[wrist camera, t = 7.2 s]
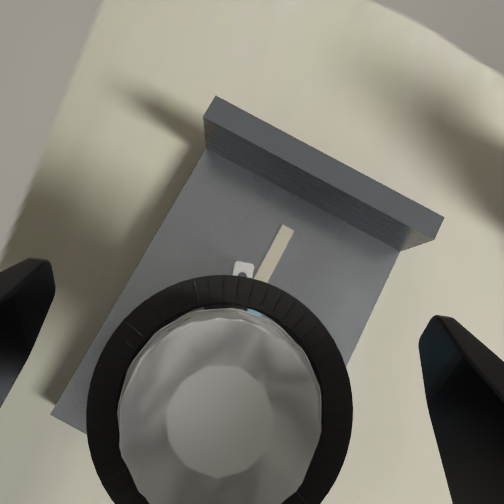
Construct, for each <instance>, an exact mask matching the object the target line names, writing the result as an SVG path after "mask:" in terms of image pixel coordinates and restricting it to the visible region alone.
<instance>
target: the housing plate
mask: <svg viewBox="0 0 504 504" xmlns="http://www.w3.org/2000/svg"><path fill="white" fill-rule="evenodd" d="M203 120H204V130H205V140H206V149H205V151H204V153H203V155H202V156H201V158H200V160H199V161H198V163H197V165H196V167H195V168H194V170H193V172H192V173H191V175H190V177H189V179H188V180H187V182H186V184H185V185H184V187H183V189H182V190H181V192H180V194H179V196H178V197H177V199H176V201H175V202H174V204H173V206H172V208H171V209H170V211H169V213H168V214H167V216H166V218H165V219H164V221H163V223H162V225H161V226H160V228H159V230H158V231H157V233H156V235H155V237H154V238H153V240H152V242H151V243H150V245H149V247H148V248H147V250H146V252H145V254H144V255H143V257H142V259H141V260H140V262H139V264H138V266H137V267H136V269H135V271H134V272H133V274H132V276H131V277H130V279H129V281H128V283H127V284H126V286H125V288H124V289H123V291H122V293H121V295H120V296H119V298H118V300H117V301H116V303H115V305H114V306H113V308H112V310H111V312H110V313H109V315H108V317H107V318H106V320H105V322H104V324H103V325H102V327H101V329H100V330H99V332H98V334H97V335H96V337H95V339H94V341H93V342H92V344H91V346H90V347H89V349H88V351H87V353H86V354H85V356H84V358H83V359H82V361H81V363H80V364H79V366H78V368H77V370H76V371H75V373H74V375H73V376H72V378H71V380H70V382H69V383H68V385H67V387H66V388H65V390H64V392H63V394H62V395H61V397H60V399H59V400H58V402H57V404H56V405H55V407H54V409H53V411H52V412H51V414H50V415H52V416H54V417H56V418H57V419H59V420H61V421H63V422H65V423H67V424H69V425H70V426H72V427H74V428H76V429H78V430H80V431H82V432H83V433H85V434H87V430H86V408H87V397H88V392H89V386H90V382H91V379H92V375H93V372H94V369H95V366H96V364H97V361H98V359H99V356H100V354H101V352H102V350H103V349H104V347H105V345H106V343H107V341H108V340H109V338H110V337H111V335H112V334H113V332H114V331H115V330H116V328H117V327H118V326H119V325H120V323H121V322H122V321H123V320H124V319H125V318H126V317H127V316H128V315H129V314H130V313H131V312H132V311H133V310H134V309H135V308H136V307H137V306H139V305H140V304H141V303H142V302H144V301H145V300H146V299H148V298H149V297H151V296H153V295H154V294H156V293H157V292H159V291H161V290H163V289H165V288H167V287H169V286H171V285H174V284H176V283H179V282H182V281H185V280H189V279H192V278H197V277H203V276H209V275H233V270H234V266H235V262H237V261H240V262H245V263H250V264H253V265H254V271H253V276H252V279H256V280H260V281H263V282H266V283H268V284H271V285H273V286H276V287H278V288H279V289H281V290H283V291H285V292H287V293H289V294H290V295H292V296H293V297H295V298H296V299H298V300H299V301H300V302H301V303H303V304H304V305H305V306H306V307H308V308H309V309H310V310H311V311H312V312H313V313H314V314H315V315H316V316H317V317H318V319H319V320H320V321H321V322H322V324H323V325H324V326H325V327H326V329H327V330H328V332H329V333H330V335H331V336H332V338H333V339H334V341H335V343H336V345H337V347H338V349H339V351H340V353H341V355H342V358H343V361H344V363H345V366H347V364H348V362H349V360H350V358H351V355H352V353H353V351H354V349H355V347H356V345H357V343H358V340H359V338H360V336H361V334H362V332H363V330H364V328H365V325H366V323H367V321H368V319H369V317H370V315H371V313H372V310H373V308H374V306H375V304H376V302H377V300H378V298H379V295H380V293H381V291H382V289H383V287H384V285H385V283H386V281H387V278H388V276H389V274H390V272H391V270H392V268H393V266H394V263H395V261H396V259H397V257H398V255H399V253H400V251H403V250H406V249H409V248H412V247H415V246H418V245H420V244H423V243H426V242H429V241H432V240H434V239H435V237H436V235H437V233H438V230H439V228H440V226H441V224H442V222H443V219H444V217H443V216H441V215H439V214H437V213H435V212H433V211H432V210H430V209H428V208H426V207H424V206H422V205H420V204H418V203H417V202H415V201H413V200H411V199H409V198H407V197H405V196H403V195H401V194H400V193H398V192H396V191H394V190H392V189H390V188H388V187H386V186H385V185H383V184H381V183H379V182H377V181H375V180H373V179H371V178H370V177H368V176H366V175H364V174H362V173H360V172H358V171H356V170H355V169H353V168H351V167H349V166H347V165H345V164H343V163H341V162H340V161H338V160H336V159H334V158H332V157H330V156H328V155H326V154H324V153H323V152H321V151H319V150H317V149H315V148H313V147H311V146H309V145H308V144H306V143H304V142H302V141H300V140H298V139H296V138H294V137H293V136H291V135H289V134H287V133H285V132H283V131H281V130H279V129H278V128H276V127H274V126H272V125H270V124H268V123H266V122H264V121H263V120H261V119H259V118H257V117H255V116H253V115H251V114H249V113H247V112H246V111H244V110H242V109H240V108H238V107H236V106H234V105H232V104H231V103H229V102H227V101H225V100H223V99H221V98H219V97H217V96H215V98H214V99H213V101H212V103H211V104H210V106H209V108H208V109H207V111H206V113H205V114H204V116H203ZM238 276H242V277H247V275H246V274H245V273H244V272H240V273H239V274H238ZM199 310H204V307H203V308H200V309H196V310H193V311H191V312H195V311H199ZM191 312H189V313H191ZM189 313H187V314H189ZM187 314H184V315H183V316H181V317H179V318H178V319H180V318H182V317H184V316H185V315H187ZM261 317H263V318H266V319H268V320H271V321H273V320H272V319H270V318H268V317H267V316H265V315H263V314H261ZM178 319H176V320H178ZM176 320H175V321H176ZM173 322H174V321H173ZM273 322H274V321H273ZM274 323H275V324H277V323H276V322H274ZM277 325H278V324H277ZM278 326H279V325H278ZM280 327H281V326H280ZM281 328H282V327H281ZM282 329H283V328H282ZM283 330H284V329H283ZM284 331H285V330H284Z"/></svg>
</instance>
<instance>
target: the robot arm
mask: <svg viewBox="0 0 504 504" xmlns="http://www.w3.org/2000/svg"><path fill="white" fill-rule="evenodd" d="M54 295H55V282H54V277H53V272H52V266H51V263H50V262H49V261H48V260H45V259H38V258H28V259H26V260H24V261H22V262H20V263H18V264H16V265H14V266H12V267H9V268H7V269H5V270H3V271H1V272H0V407H1V405H2V404H3V402H4V400H5V398H6V397H7V395H8V393H9V391H10V389H11V388H12V386H13V384H14V382H15V381H16V379H17V377H18V375H19V373H20V372H21V370H22V368H23V366H24V364H25V363H26V361H27V359H28V357H29V355H30V353H31V351H32V348H33V346H34V344H35V341H36V339H37V337H38V334H39V332H40V329H41V327H42V325H43V322H44V320H45V317H46V315H47V313H48V310H49V308H50V305H51V303H52V301H53V298H54ZM419 353H420V360H421V367H422V373H423V380H424V387H425V394H426V400H427V406H428V410H429V414H430V418H431V422H432V426H433V430H434V433H435V437H436V441H437V445H438V449H439V453H440V456H441V460H442V464H443V468H444V472H445V476H446V479H447V483H448V487H449V491H450V495H451V498H452V502H453V504H504V362H503V361H502V360H501V359H500V358H499V357H498V356H497V355H495V354H494V353H493V352H492V351H491V350H490V349H488V348H487V347H486V346H485V345H484V344H483V343H482V342H480V341H479V340H478V339H477V338H476V337H475V336H473V335H472V334H471V333H470V332H469V331H468V330H467V329H465V328H464V327H463V326H462V325H461V324H460V323H458V322H457V321H456V320H455V319H454V318H452V317H447V316H440V315H435V316H433V317H432V318H431V320H430V321H429V323H428V325H427V327H426V328H425V330H424V332H423V333H422V335H421V337H420V340H419Z"/></svg>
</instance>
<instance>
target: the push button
mask: <svg viewBox="0 0 504 504" xmlns="http://www.w3.org/2000/svg"><path fill="white" fill-rule="evenodd" d="M253 271H254V265H253V264H250V263H245V262H240V261H237V262H235V266H234V270H233V275H209V276H203V277H197V278H192V279H189V280H185V281H182V282H179V283H176V284H174V285H171V286H169V287H167V288H165V289H163V290H161V291H159V292H157V293H156V294H154V295H153V296H151V297H149V298H148V299H146V300H145V301H144V302H142V303H141V304H140V305H139V306H137V307H136V308H135V309H134V310H133V311H132V312H131V313H130V314H129V315H128V316H127V317H126V318H125V319H124V320H123V321H122V322H121V323H120V325H119V326H118V327H117V328H116V330H115V331H114V332H113V334H112V335H111V337H110V338H109V340H108V341H107V343H106V345H105V347H104V349H103V350H102V352H101V354H100V356H99V359H98V361H97V364H96V366H95V369H94V372H93V375H92V379H91V382H90V386H89V392H88V397H87V408H86V430H87V437H88V445H89V449H90V453H91V457H92V460H93V463H94V466H95V469H96V472H97V474H98V476H99V478H100V480H101V482H102V485H103V487H104V488H105V490H106V491H107V493H108V495H109V496H110V498H111V499H112V501H113V502H114V503H115V504H320V503H321V502H322V500H323V499H324V498H325V496H326V495H327V494H328V492H329V491H330V489H331V487H332V486H333V484H334V482H335V481H336V479H337V476H338V474H339V472H340V470H341V468H342V465H343V463H344V460H345V457H346V454H347V450H348V446H349V442H350V438H351V430H352V420H353V403H352V392H351V386H350V380H349V376H348V373H347V369H346V366H345V363H344V361H343V358H342V355H341V353H340V351H339V349H338V347H337V345H336V343H335V341H334V339H333V338H332V336H331V335H330V333H329V332H328V330H327V329H326V327H325V326H324V325H323V324H322V322H321V321H320V320H319V319H318V317H317V316H316V315H315V314H314V313H313V312H312V311H311V310H310V309H309V308H308V307H306V306H305V305H304V304H303V303H301V302H300V301H299V300H298V299H296V298H295V297H293V296H292V295H290V294H289V293H287V292H285V291H283V290H281V289H279V288H278V287H276V286H273V285H271V284H268V283H266V282H263V281H260V280H256V279H252V276H253ZM240 272H244V273H245V274H246V275H247V277H242V276H238V274H239V273H240ZM203 307H204V310H199V311H195V312H191V311H193V310H196V309H200V308H203ZM189 312H191V313H189ZM187 313H189V314H187ZM184 314H187V315H185V316H184V317H182V318H180V319H178V318H179V317H181V316H183V315H184ZM261 314H263V315H265V316H267V317H268V318H270V319H272V320H273V321H274V322H276V323H277V324H278V325H279V326H278V325H277V324H275V323H274V322H273V321H271V320H268V319H266V318H263V317H261ZM176 319H178V320H176ZM175 320H176V321H175ZM173 321H174V322H173ZM280 326H281V327H282V328H283V329H284V330H285V331H284V330H283V329H282V328H281V327H280Z"/></svg>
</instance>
